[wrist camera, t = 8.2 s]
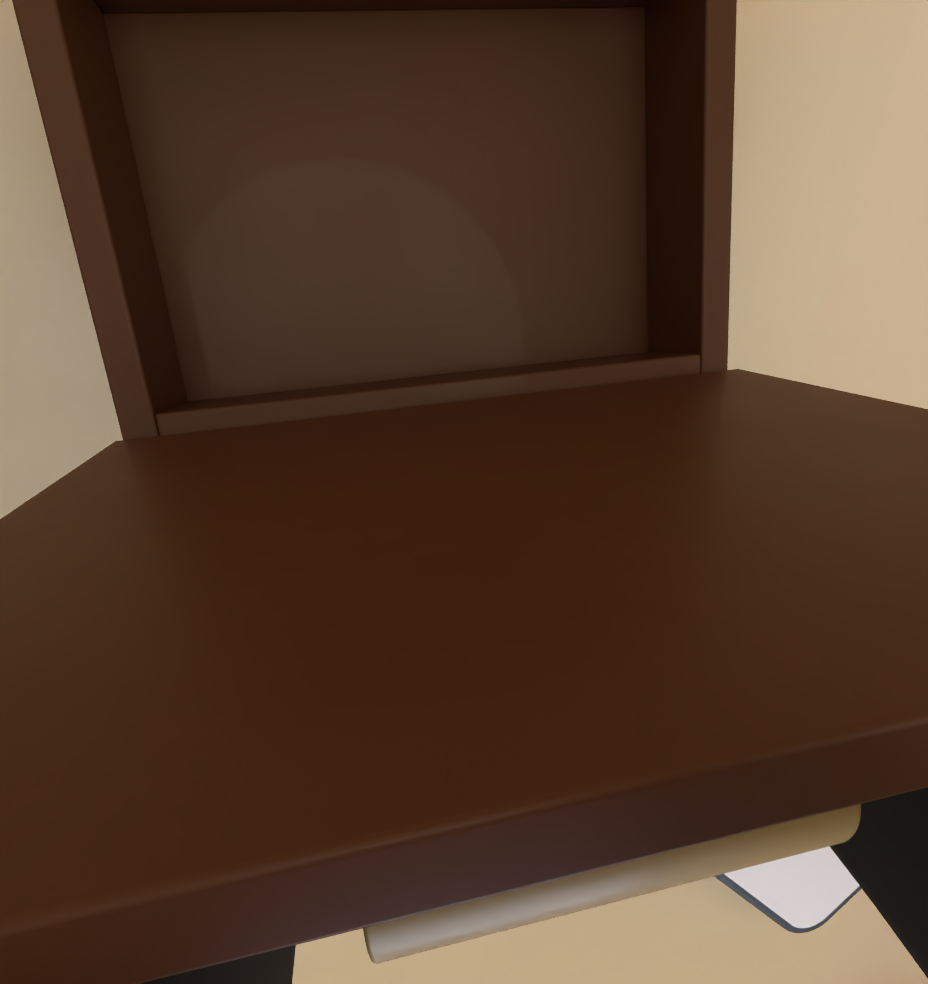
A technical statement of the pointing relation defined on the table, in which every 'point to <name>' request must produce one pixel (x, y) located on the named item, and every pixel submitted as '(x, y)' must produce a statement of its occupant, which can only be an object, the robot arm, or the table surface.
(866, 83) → the table surface
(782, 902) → the smartphone
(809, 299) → the table surface
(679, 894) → the table surface
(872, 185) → the table surface
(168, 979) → the robot arm
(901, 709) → the brown box lid
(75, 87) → the brown box tray
